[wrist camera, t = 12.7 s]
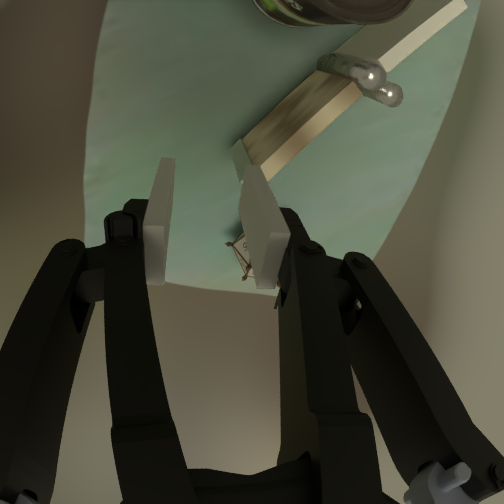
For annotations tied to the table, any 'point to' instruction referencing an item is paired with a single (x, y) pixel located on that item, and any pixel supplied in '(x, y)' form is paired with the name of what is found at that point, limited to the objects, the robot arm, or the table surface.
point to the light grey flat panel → (400, 33)
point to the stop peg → (385, 94)
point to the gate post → (354, 71)
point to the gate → (294, 123)
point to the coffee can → (332, 11)
